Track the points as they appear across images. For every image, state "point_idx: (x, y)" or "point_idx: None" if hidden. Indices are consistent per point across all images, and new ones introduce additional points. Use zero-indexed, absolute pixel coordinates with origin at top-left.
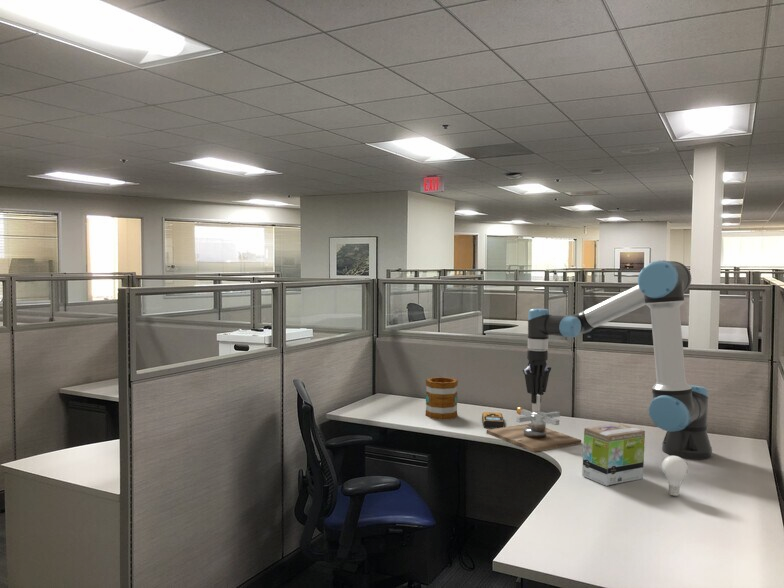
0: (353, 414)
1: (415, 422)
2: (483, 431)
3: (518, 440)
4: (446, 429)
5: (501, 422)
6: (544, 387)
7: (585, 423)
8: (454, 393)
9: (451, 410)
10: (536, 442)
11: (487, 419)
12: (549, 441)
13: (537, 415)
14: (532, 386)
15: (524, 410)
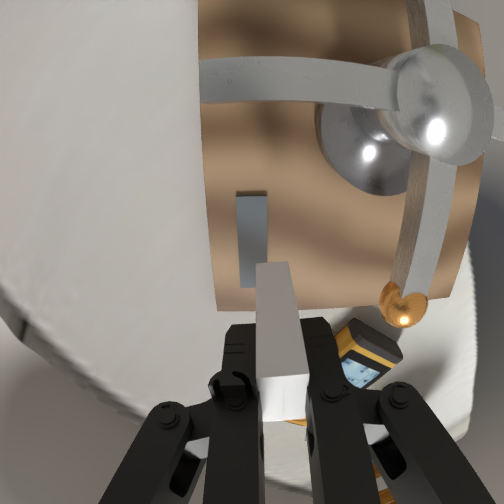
0: (458, 431)
1: (453, 399)
2: (433, 309)
3: None
4: (469, 349)
5: (366, 337)
6: (164, 459)
7: (10, 243)
8: (379, 476)
9: None
10: None
11: (380, 371)
12: (376, 20)
13: (481, 81)
14: (437, 464)
15: (431, 263)
